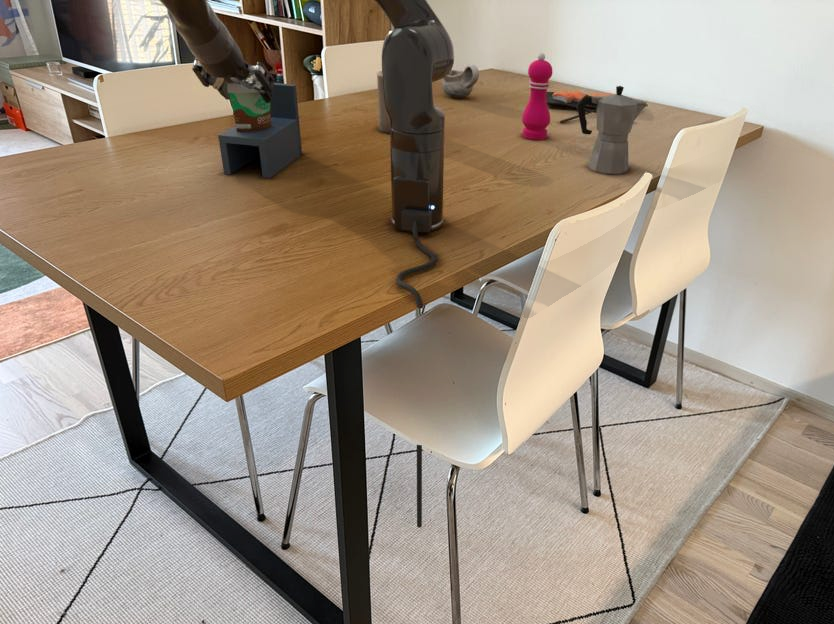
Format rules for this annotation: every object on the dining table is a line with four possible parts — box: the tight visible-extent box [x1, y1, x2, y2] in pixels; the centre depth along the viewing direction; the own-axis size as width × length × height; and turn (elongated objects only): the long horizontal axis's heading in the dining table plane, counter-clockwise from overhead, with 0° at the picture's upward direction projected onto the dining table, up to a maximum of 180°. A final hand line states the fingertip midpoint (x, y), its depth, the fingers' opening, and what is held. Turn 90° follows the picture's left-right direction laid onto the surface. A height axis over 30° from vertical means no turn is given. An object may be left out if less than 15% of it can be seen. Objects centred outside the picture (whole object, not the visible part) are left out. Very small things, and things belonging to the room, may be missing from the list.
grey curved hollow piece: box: [441, 64, 480, 99], centre depth 211 cm, size 10×12×10 cm
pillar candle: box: [376, 70, 390, 134], centre depth 176 cm, size 10×10×15 cm
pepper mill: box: [521, 52, 553, 141], centre depth 175 cm, size 7×7×20 cm
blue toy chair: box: [217, 82, 303, 179], centre depth 149 cm, size 18×10×15 cm, turn 170°
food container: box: [227, 76, 271, 132], centre depth 145 cm, size 12×6×10 cm, turn 171°
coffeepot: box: [576, 85, 649, 175], centre depth 156 cm, size 15×9×18 cm, turn 88°
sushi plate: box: [546, 90, 614, 124], centre depth 204 cm, size 29×30×4 cm
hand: (249, 97), depth 142 cm, fingers open, 8 cm apart
